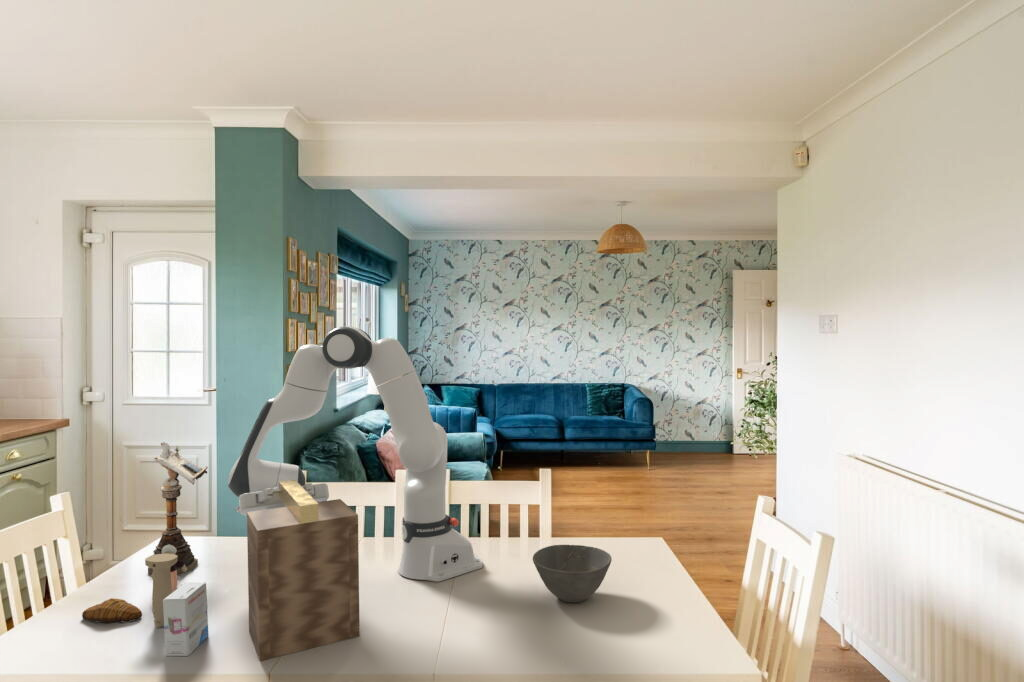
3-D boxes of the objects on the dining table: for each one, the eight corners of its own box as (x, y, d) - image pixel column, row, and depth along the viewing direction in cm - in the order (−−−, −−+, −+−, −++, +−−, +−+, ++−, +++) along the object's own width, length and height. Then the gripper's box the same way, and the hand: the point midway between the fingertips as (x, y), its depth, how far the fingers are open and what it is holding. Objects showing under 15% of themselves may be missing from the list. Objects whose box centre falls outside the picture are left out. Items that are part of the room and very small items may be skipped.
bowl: (620, 589, 162) (620, 549, 161) (597, 621, 145) (597, 577, 144) (550, 576, 170) (550, 538, 169) (520, 606, 152) (520, 563, 152)
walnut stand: (341, 610, 150) (340, 498, 150) (359, 636, 138) (358, 514, 137) (249, 631, 140) (246, 512, 140) (259, 661, 128) (257, 530, 127)
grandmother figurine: (154, 603, 155) (153, 550, 154) (150, 598, 158) (149, 546, 157) (189, 594, 160) (188, 543, 159) (185, 589, 163) (183, 539, 162)
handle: (169, 630, 141) (167, 562, 140) (142, 629, 142) (140, 561, 141) (183, 620, 146) (181, 554, 145) (157, 618, 147) (155, 553, 146)
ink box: (186, 635, 139) (184, 580, 138) (209, 636, 139) (208, 581, 138) (163, 656, 130) (162, 598, 130) (188, 656, 130) (186, 598, 130)
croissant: (72, 626, 144) (71, 604, 144) (93, 612, 151) (93, 591, 150) (130, 628, 143) (130, 605, 143) (150, 614, 150) (149, 592, 150)
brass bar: (295, 494, 153) (294, 479, 153) (318, 521, 133) (318, 503, 133) (279, 496, 151) (278, 481, 151) (300, 523, 132) (300, 506, 131)
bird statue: (223, 557, 185) (221, 434, 183) (207, 575, 172) (204, 443, 170) (161, 559, 183) (158, 435, 181) (140, 578, 170) (137, 444, 168)
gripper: (233, 499, 157) (239, 481, 146) (319, 488, 167) (331, 470, 156) (235, 525, 154) (242, 509, 143) (323, 512, 164) (335, 496, 154)
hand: (289, 489), depth 150 cm, fingers open, 7 cm apart
